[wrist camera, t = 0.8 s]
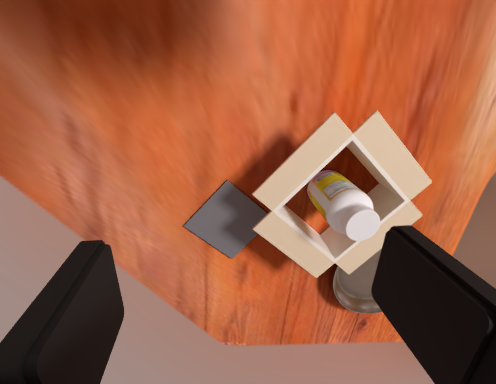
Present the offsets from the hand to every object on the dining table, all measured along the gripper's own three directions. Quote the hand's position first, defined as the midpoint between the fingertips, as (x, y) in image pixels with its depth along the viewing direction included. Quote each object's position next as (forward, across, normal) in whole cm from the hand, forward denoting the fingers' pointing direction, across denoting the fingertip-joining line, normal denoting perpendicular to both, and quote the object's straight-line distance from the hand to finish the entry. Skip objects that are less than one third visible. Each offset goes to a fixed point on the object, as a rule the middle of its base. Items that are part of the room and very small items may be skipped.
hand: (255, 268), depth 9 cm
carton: (+33, -17, +11) cm, 39 cm away
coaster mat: (+33, -1, +17) cm, 38 cm away
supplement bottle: (+33, -17, +11) cm, 39 cm away
